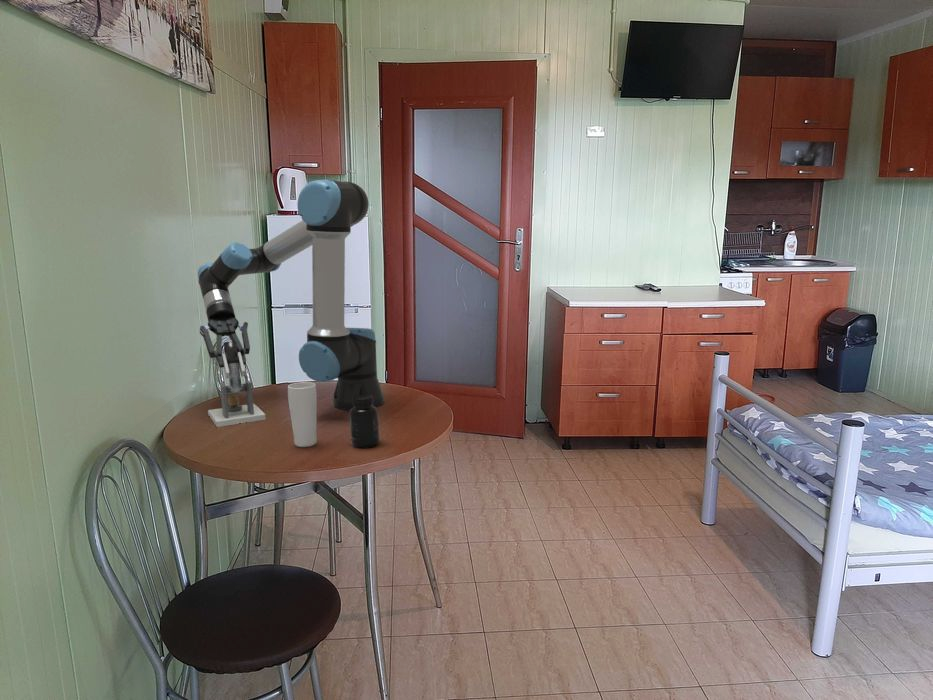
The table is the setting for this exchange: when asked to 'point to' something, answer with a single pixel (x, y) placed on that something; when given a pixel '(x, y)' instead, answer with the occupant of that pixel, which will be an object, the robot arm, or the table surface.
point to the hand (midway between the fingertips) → (235, 374)
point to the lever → (233, 368)
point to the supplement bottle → (364, 422)
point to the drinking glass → (303, 412)
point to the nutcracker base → (236, 409)
